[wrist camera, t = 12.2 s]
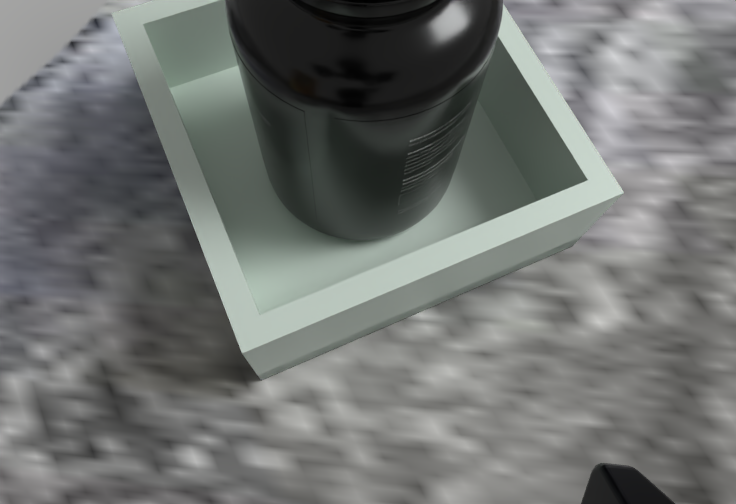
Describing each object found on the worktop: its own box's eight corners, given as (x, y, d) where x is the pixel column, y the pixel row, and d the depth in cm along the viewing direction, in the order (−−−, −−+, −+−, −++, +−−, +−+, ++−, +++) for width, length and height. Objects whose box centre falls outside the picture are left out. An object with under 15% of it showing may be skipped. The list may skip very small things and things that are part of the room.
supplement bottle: (425, 67, 25) (496, -287, 13) (473, 226, 22) (609, -39, 11) (249, 96, 24) (168, -254, 13) (281, 264, 22) (217, 20, 10)
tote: (572, 246, 23) (623, 192, 19) (261, 380, 21) (241, 353, 17) (427, 1, 27) (444, -89, 23) (149, 93, 25) (111, 13, 21)
